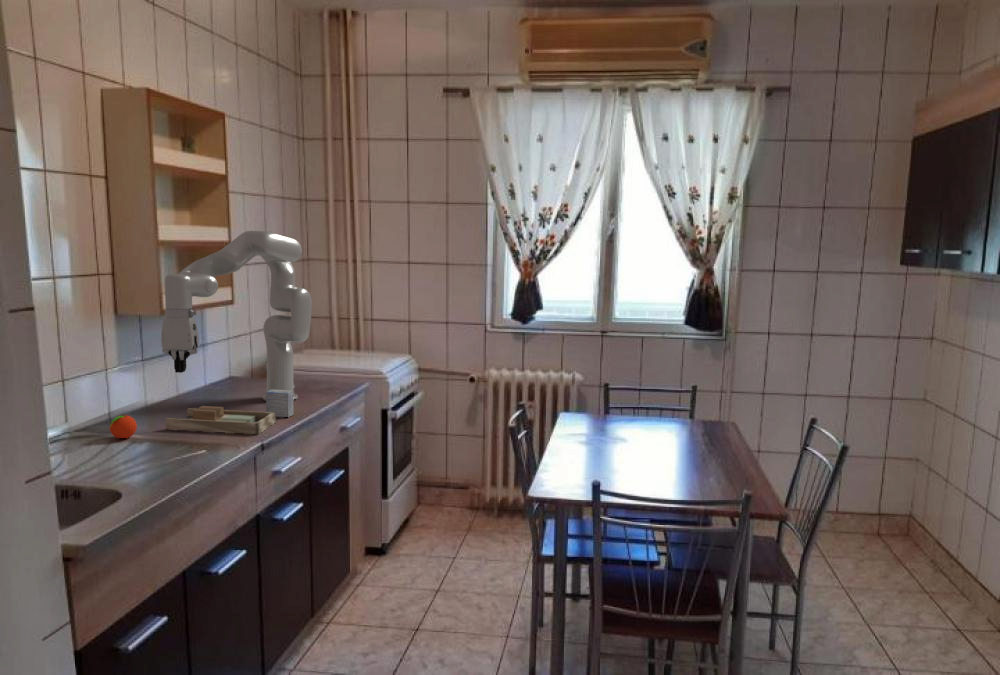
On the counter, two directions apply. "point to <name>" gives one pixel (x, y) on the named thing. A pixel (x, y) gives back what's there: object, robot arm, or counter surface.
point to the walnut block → (208, 413)
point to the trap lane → (226, 422)
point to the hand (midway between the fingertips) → (180, 371)
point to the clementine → (123, 426)
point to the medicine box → (280, 402)
